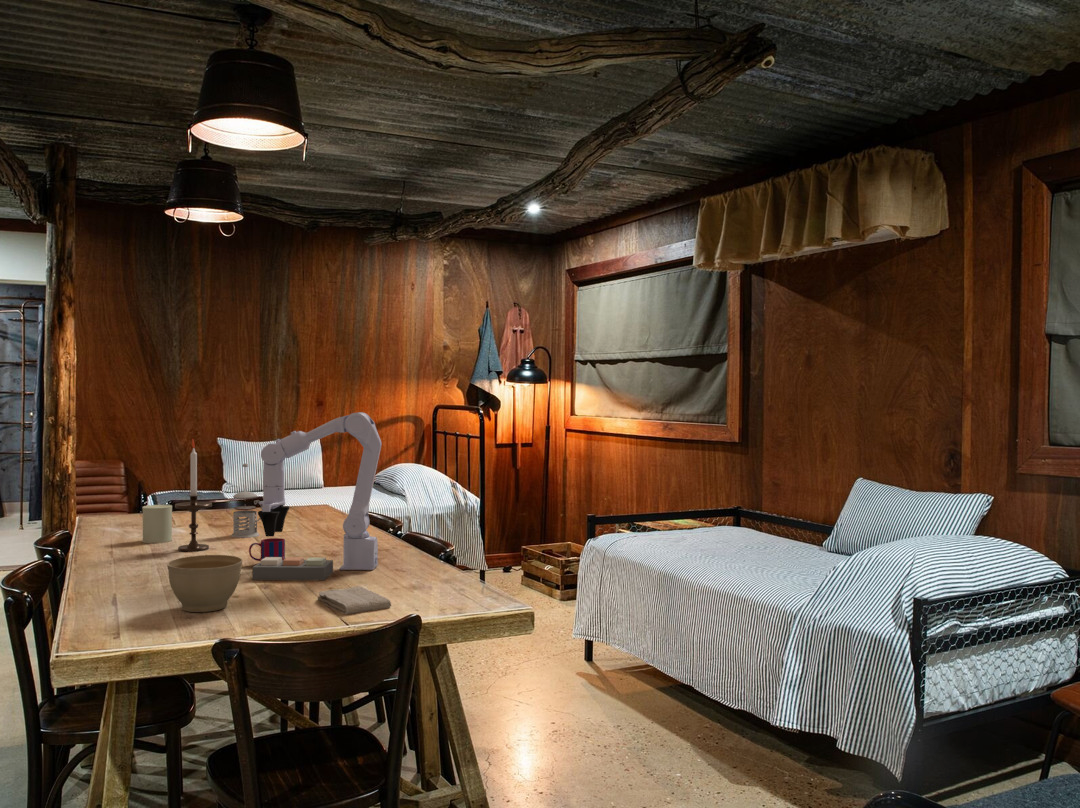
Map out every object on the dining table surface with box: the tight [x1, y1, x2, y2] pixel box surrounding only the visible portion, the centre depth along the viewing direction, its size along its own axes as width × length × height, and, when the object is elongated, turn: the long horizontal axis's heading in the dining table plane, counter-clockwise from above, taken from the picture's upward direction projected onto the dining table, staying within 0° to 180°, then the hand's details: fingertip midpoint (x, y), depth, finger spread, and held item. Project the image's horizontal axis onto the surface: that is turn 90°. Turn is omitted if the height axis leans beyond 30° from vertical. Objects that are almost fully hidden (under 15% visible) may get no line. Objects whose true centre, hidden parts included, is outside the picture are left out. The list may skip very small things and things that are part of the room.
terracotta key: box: [283, 556, 305, 566], centre depth 236 cm, size 4×4×2 cm
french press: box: [230, 463, 262, 539], centre depth 301 cm, size 10×12×25 cm
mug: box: [248, 537, 286, 562], centre depth 253 cm, size 7×10×7 cm
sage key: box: [305, 556, 327, 566], centre depth 236 cm, size 4×4×2 cm
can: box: [141, 503, 173, 544], centre depth 289 cm, size 9×9×12 cm
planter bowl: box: [166, 554, 243, 613], centre depth 201 cm, size 16×16×11 cm
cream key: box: [260, 557, 282, 565], centre depth 236 cm, size 4×4×2 cm
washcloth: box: [317, 585, 392, 615], centre depth 206 cm, size 12×18×3 cm, turn 37°
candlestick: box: [174, 438, 213, 553], centre depth 274 cm, size 11×11×35 cm
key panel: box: [251, 559, 334, 581], centre depth 236 cm, size 19×10×3 cm, turn 90°
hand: (274, 534), depth 246 cm, fingers open, 7 cm apart
